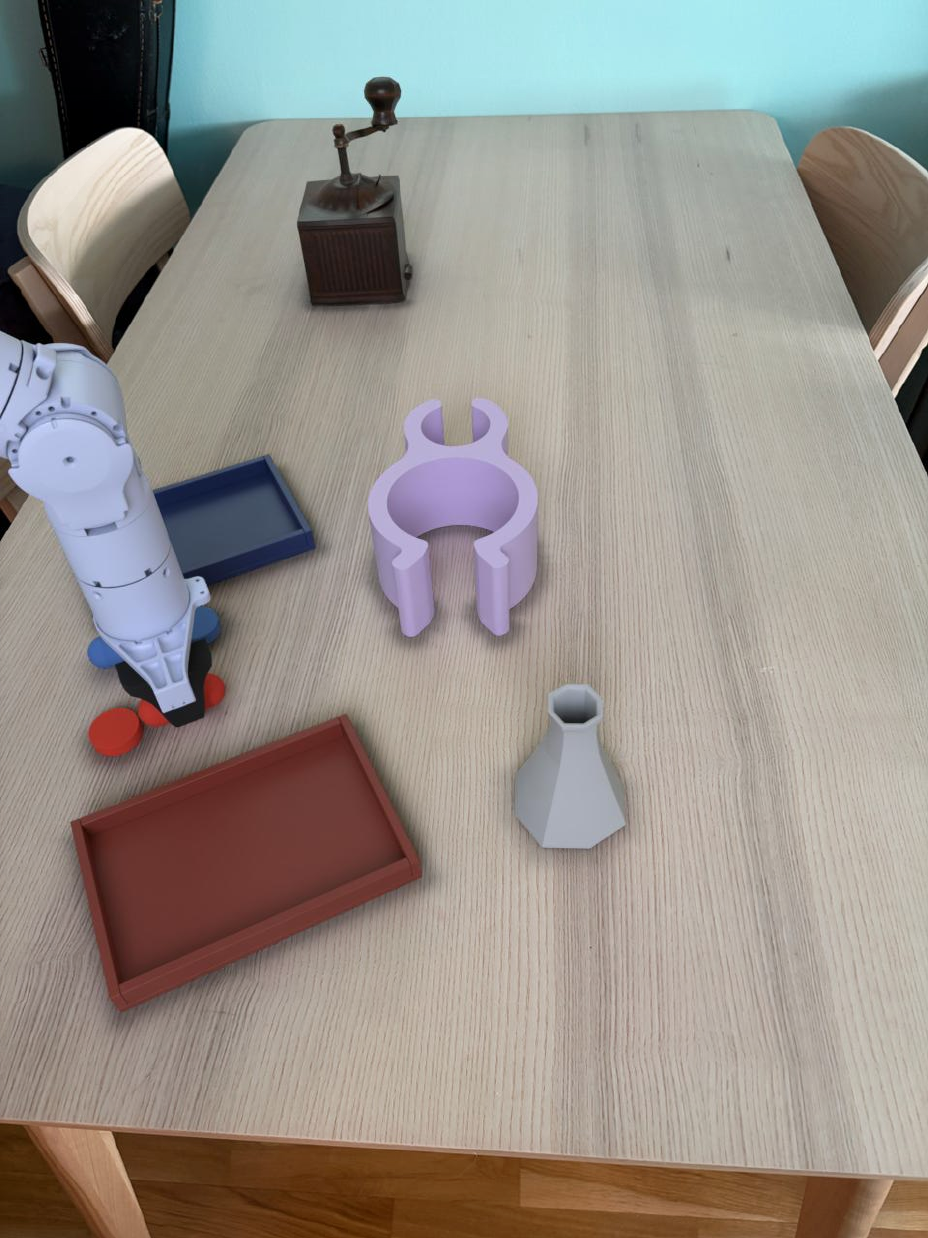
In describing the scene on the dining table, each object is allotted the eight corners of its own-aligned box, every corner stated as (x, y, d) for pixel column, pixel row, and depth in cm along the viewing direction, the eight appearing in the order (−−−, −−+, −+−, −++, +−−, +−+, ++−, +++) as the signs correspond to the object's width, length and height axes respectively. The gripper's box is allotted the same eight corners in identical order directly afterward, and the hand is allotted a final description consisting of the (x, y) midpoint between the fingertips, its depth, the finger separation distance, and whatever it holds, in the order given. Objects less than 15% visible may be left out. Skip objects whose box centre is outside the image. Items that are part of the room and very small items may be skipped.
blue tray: (103, 621, 74) (94, 603, 73) (76, 534, 81) (68, 515, 80) (315, 548, 78) (312, 530, 77) (273, 471, 86) (269, 453, 84)
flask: (532, 866, 58) (533, 773, 51) (497, 770, 63) (494, 672, 56) (644, 835, 60) (662, 739, 52) (602, 742, 64) (612, 643, 57)
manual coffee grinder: (411, 302, 104) (395, 126, 91) (309, 307, 104) (278, 132, 91) (415, 235, 115) (401, 68, 102) (322, 239, 115) (296, 74, 102)
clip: (389, 466, 85) (381, 400, 80) (532, 463, 85) (532, 396, 80) (370, 637, 72) (359, 570, 67) (540, 635, 71) (541, 566, 66)
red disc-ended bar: (98, 764, 65) (86, 743, 63) (88, 727, 67) (76, 706, 65) (235, 712, 67) (227, 690, 66) (221, 678, 70) (213, 656, 68)
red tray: (120, 1013, 54) (109, 999, 52) (80, 838, 61) (69, 821, 60) (422, 877, 58) (420, 860, 57) (350, 730, 66) (346, 712, 64)
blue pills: (213, 609, 74) (206, 586, 73) (226, 638, 72) (218, 616, 70) (89, 652, 72) (78, 631, 70) (98, 684, 70) (87, 663, 68)
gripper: (221, 610, 53) (269, 753, 63) (160, 464, 62) (210, 610, 72) (92, 655, 51) (162, 795, 61) (48, 499, 61) (115, 643, 70)
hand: (181, 698), depth 67 cm, fingers open, 3 cm apart
